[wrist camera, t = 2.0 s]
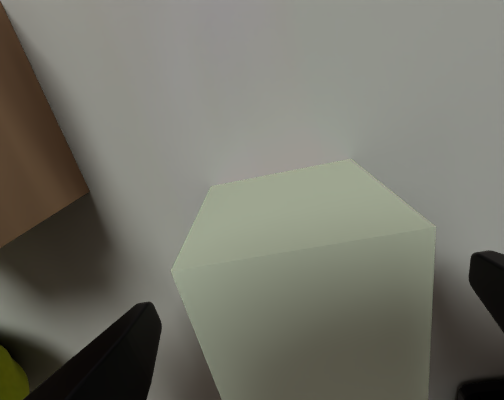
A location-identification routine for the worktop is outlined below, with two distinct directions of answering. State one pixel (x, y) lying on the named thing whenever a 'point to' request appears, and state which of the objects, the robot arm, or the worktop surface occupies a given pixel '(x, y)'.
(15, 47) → the tower base
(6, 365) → the fruit
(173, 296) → the worktop surface
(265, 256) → the sage cube
